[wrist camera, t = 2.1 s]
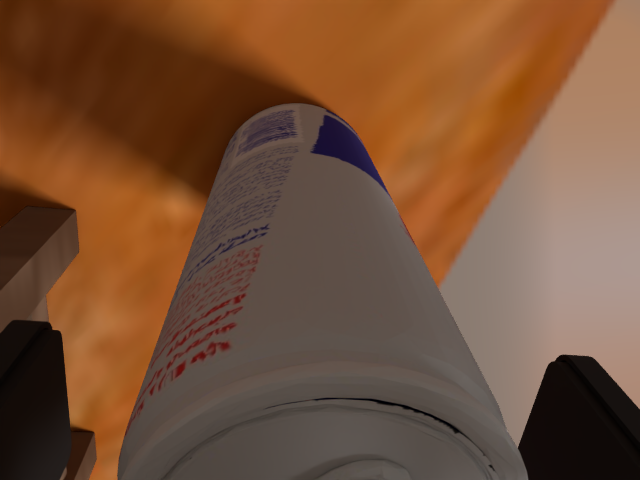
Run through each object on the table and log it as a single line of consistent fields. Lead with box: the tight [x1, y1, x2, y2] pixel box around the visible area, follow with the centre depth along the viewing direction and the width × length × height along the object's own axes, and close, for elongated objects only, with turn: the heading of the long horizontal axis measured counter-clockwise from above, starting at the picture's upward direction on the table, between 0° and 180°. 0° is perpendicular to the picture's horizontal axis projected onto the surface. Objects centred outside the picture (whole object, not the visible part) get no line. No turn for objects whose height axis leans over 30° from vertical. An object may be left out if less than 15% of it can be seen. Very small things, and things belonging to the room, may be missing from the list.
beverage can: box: [117, 103, 528, 480], centre depth 13 cm, size 6×6×15 cm
